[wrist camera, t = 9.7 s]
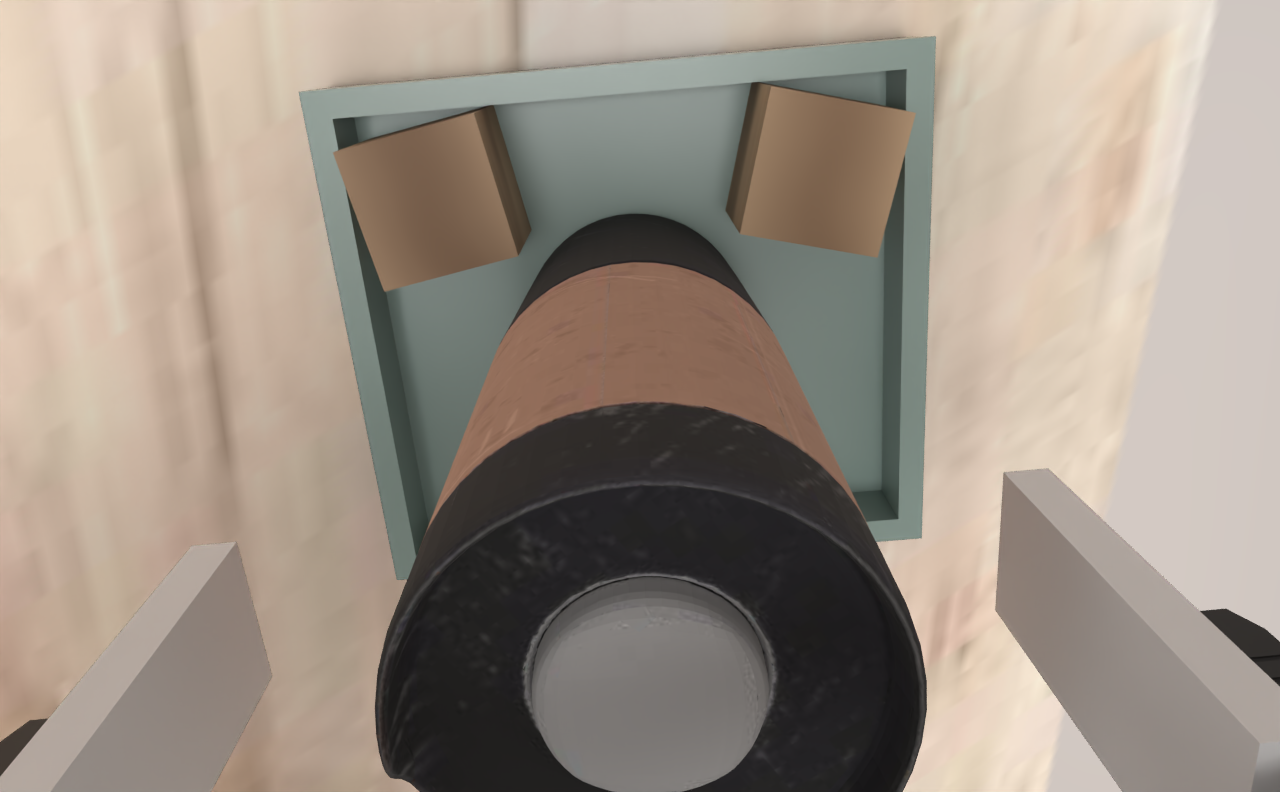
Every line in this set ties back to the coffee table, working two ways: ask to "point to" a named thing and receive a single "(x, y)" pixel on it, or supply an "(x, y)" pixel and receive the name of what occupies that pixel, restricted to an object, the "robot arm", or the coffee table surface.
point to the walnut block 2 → (817, 169)
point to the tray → (656, 185)
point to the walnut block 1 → (436, 198)
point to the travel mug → (647, 558)
